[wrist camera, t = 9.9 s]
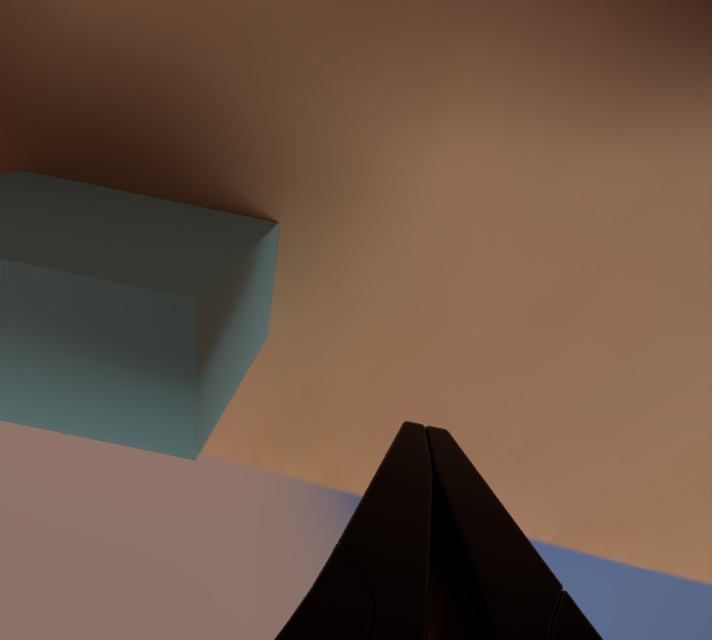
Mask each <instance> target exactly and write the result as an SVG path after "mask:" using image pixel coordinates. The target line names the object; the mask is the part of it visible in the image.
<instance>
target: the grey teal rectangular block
mask: <svg viewBox="0 0 712 640" xmlns="http://www.w3.org/2000/svg"><path fill="white" fill-rule="evenodd" d="M278 231H279V222H274V221H269V220H264V219H259V218H254V217H249V216H244V215H239V214H235V213H230V212H225V211H220V210H215V209H210V208H205V207H200V206H195V205H191V204H186V203H181V202H176V201H171V200H166V199H161V198H156V197H152V196H147V195H142V194H137V193H132V192H127V191H122V190H117V189H112V188H108V187H103V186H98V185H93V184H88V183H83V182H78V181H73V180H68V179H64V178H59V177H54V176H49V175H44V174H39V173H34V172H29V171H24V170H20V171H14V172H8V173H1V174H0V420H2V421H7V422H12V423H17V424H22V425H27V426H31V427H36V428H41V429H46V430H51V431H56V432H60V433H65V434H71V435H75V436H80V437H85V438H90V439H95V440H100V441H104V442H109V443H114V444H119V445H124V446H129V447H133V448H138V449H143V450H148V451H153V452H158V453H163V454H167V455H173V456H177V457H182V458H187V459H192V460H196V458H197V456H198V455H199V453H200V451H201V449H202V448H203V446H204V444H205V443H206V441H207V439H208V437H209V436H210V434H211V432H212V431H213V429H214V427H215V425H216V424H217V422H218V420H219V419H220V417H221V415H222V413H223V412H224V410H225V408H226V407H227V405H228V403H229V401H230V400H231V398H232V396H233V395H234V393H235V391H236V389H237V388H238V386H239V384H240V383H241V381H242V379H243V377H244V376H245V374H246V372H247V371H248V369H249V367H250V365H251V364H252V362H253V360H254V359H255V357H256V355H257V353H258V352H259V350H260V348H261V347H262V345H263V343H264V341H265V340H266V338H267V336H268V329H269V319H270V310H271V300H272V290H273V280H274V270H275V260H276V251H277V241H278Z"/></svg>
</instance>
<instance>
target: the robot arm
mask: <svg viewBox="0 0 712 640" xmlns="http://www.w3.org/2000/svg"><path fill="white" fill-rule="evenodd" d="M562 590H563V586H562V584H561V583H560V582H559V580H558V579H557V578H556V576H555V575H554V574H553V572H552V571H551V570H550V568H549V567H548V566H547V564H546V563H545V562H544V560H543V559H542V557H541V556H540V555H539V554H538V552H537V551H536V549H535V548H534V547H533V545H532V544H531V542H530V541H529V540H528V538H527V537H526V536H525V534H524V533H523V532H522V530H521V529H520V528H519V526H518V525H517V524H516V522H515V521H514V519H513V518H512V517H511V515H510V514H509V513H508V511H507V510H506V509H505V507H504V506H503V505H502V503H501V502H500V501H499V499H498V498H497V497H496V495H495V494H494V492H493V491H492V490H491V488H490V487H489V486H488V484H487V483H486V482H485V480H484V479H483V478H482V476H481V475H480V474H479V472H478V471H477V469H476V468H475V467H474V465H473V464H472V463H471V461H470V460H469V459H468V457H467V456H466V455H465V453H464V452H463V451H462V449H461V448H460V446H459V445H458V444H457V442H456V441H455V440H454V438H453V437H452V436H451V434H450V433H449V432H448V431H447V430H446V429H442V428H437V427H433V426H427V427H425V426H424V425H422V424H418V423H413V422H409V421H405V422H404V423H403V424H402V426H401V428H400V430H399V432H398V433H397V435H396V437H395V439H394V441H393V442H392V444H391V446H390V448H389V450H388V452H387V453H386V455H385V457H384V459H383V461H382V463H381V464H380V466H379V468H378V470H377V472H376V473H375V475H374V477H373V479H372V481H371V483H370V484H369V486H368V488H367V490H366V492H365V494H364V495H363V497H362V499H361V501H360V503H359V504H358V506H357V508H356V510H355V512H354V514H353V515H352V517H351V519H350V521H349V523H348V524H347V527H346V528H345V530H344V532H343V534H342V536H341V537H340V539H339V542H338V544H336V546H335V548H334V549H333V551H332V553H331V555H330V557H329V559H328V561H327V562H326V564H325V566H324V567H323V569H322V571H321V572H320V574H319V576H318V577H317V579H316V581H315V582H314V584H313V586H312V587H311V589H310V591H309V592H308V593H307V595H306V596H305V598H304V599H303V600H302V602H301V604H300V605H299V606H298V608H297V609H296V611H295V612H294V613H293V615H292V616H291V618H290V619H289V621H288V622H287V623H286V625H285V626H284V627H283V629H282V630H281V631H280V633H279V634H278V635H277V637H276V638H275V639H274V640H603V639H602V637H601V636H600V635H599V633H598V632H597V631H596V630H595V628H594V627H593V626H592V624H591V623H590V622H589V621H588V619H587V618H586V616H585V615H584V614H583V612H582V611H581V610H580V608H579V607H578V606H577V604H576V603H575V602H574V600H573V599H572V598H571V596H570V595H569V594H568V593H567V591H562Z"/></svg>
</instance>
